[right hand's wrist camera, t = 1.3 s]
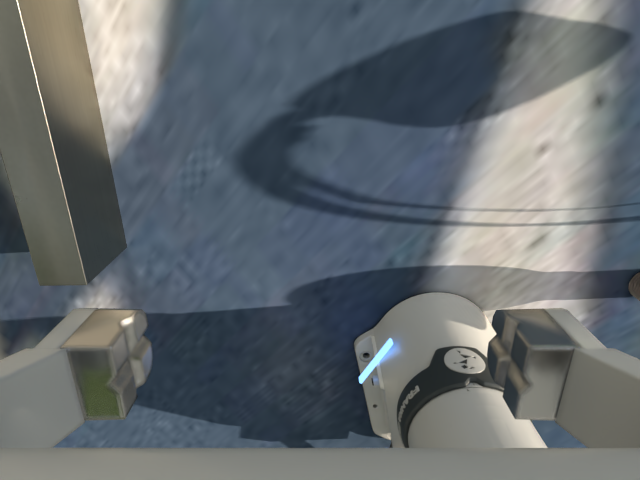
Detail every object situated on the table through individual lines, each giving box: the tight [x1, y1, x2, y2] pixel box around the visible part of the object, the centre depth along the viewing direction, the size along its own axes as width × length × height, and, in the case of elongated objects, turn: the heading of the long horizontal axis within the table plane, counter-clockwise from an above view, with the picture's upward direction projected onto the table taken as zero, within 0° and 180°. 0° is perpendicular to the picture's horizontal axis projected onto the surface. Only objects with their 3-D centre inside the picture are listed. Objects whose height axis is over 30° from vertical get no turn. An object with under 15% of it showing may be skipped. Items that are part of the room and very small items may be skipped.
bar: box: [0, 0, 127, 286], centre depth 39 cm, size 27×4×9 cm, turn 1°
